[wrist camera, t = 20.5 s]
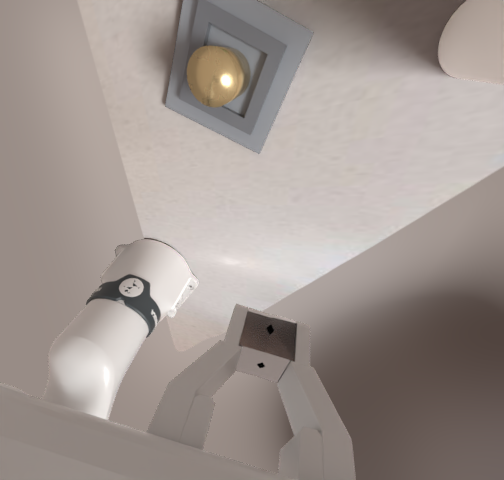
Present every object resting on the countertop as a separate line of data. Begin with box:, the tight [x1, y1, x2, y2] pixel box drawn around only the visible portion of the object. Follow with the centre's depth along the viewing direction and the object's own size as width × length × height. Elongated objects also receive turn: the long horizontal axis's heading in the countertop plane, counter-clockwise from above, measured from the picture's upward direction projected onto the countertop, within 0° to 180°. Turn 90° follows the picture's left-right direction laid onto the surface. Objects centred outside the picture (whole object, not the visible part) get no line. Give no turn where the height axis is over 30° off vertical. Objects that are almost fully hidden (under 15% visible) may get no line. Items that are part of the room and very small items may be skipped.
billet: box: [187, 46, 251, 107], centre depth 27 cm, size 5×5×7 cm
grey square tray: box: [165, 0, 314, 154], centre depth 29 cm, size 14×14×2 cm
